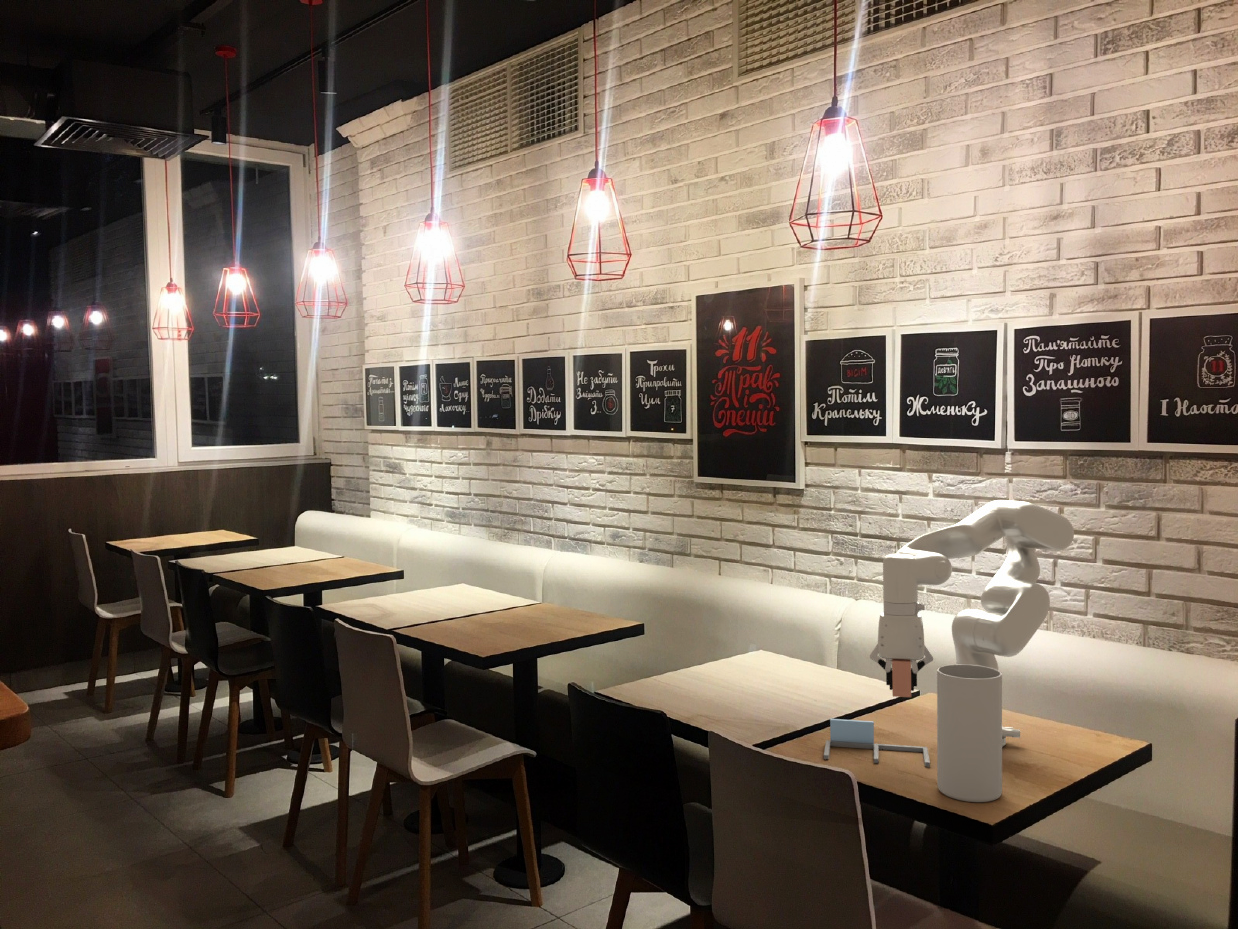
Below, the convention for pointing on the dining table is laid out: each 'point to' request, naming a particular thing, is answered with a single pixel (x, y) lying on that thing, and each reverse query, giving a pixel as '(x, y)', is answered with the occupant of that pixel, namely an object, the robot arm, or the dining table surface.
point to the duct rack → (863, 739)
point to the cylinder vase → (969, 732)
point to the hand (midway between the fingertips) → (901, 688)
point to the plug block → (901, 678)
